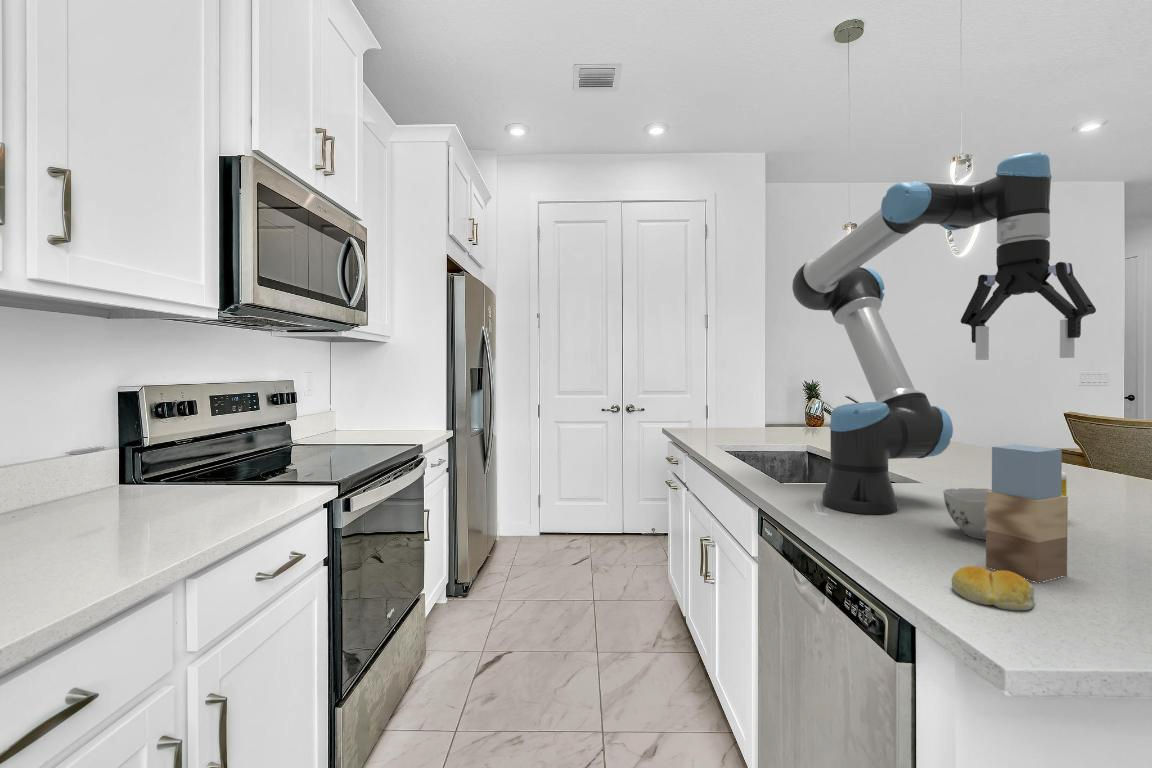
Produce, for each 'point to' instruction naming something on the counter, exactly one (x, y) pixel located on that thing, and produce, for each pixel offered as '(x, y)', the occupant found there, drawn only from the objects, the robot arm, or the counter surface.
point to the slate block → (1027, 471)
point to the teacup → (968, 510)
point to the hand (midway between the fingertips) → (1021, 359)
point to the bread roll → (994, 588)
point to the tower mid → (1027, 516)
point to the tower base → (1027, 556)
